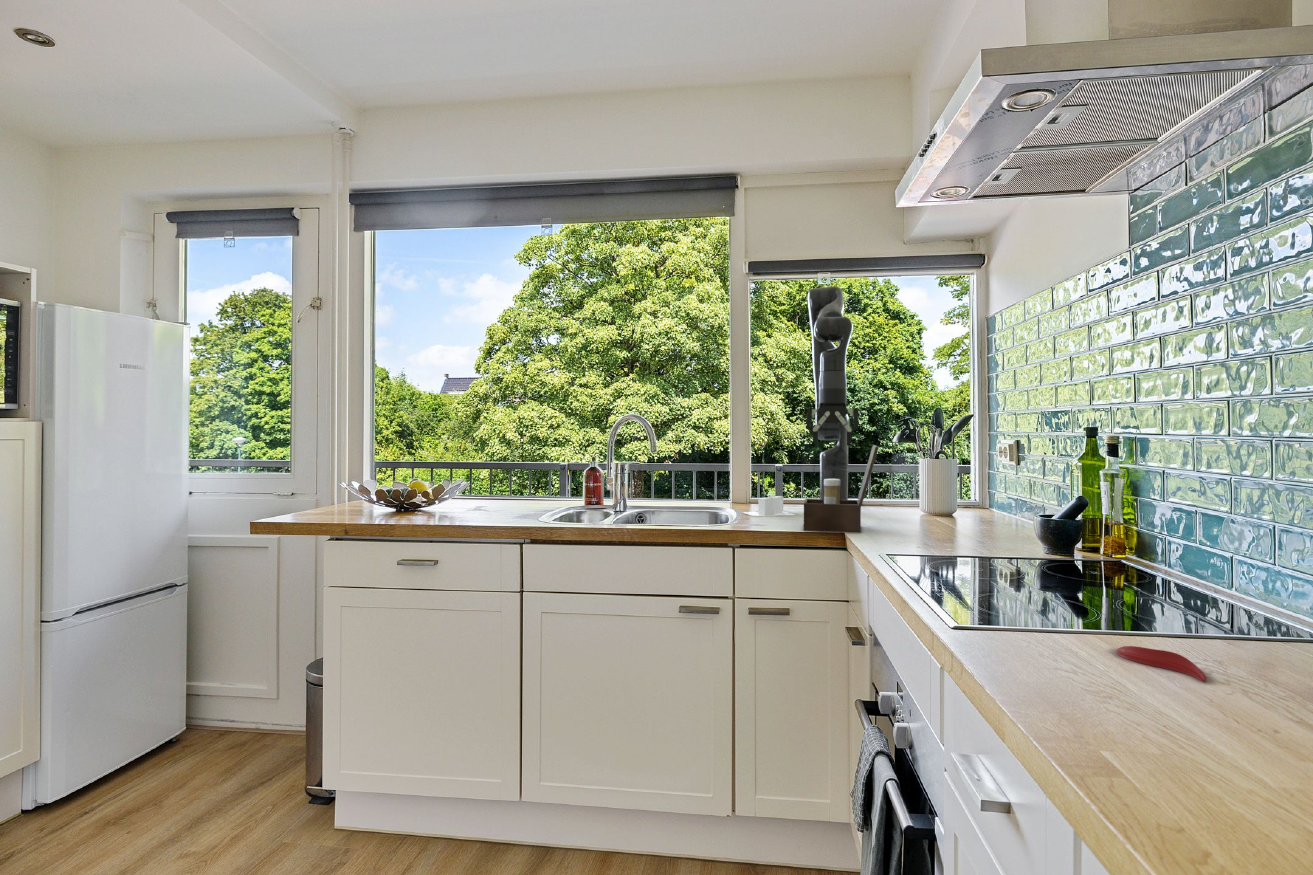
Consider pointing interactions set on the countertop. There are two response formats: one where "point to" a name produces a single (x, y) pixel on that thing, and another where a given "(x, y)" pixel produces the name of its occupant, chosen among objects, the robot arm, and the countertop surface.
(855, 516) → the chest
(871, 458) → the chest lid
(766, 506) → the napkin holder
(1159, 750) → the countertop surface
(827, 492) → the sprinkles bottle
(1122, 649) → the cayenne pepper
